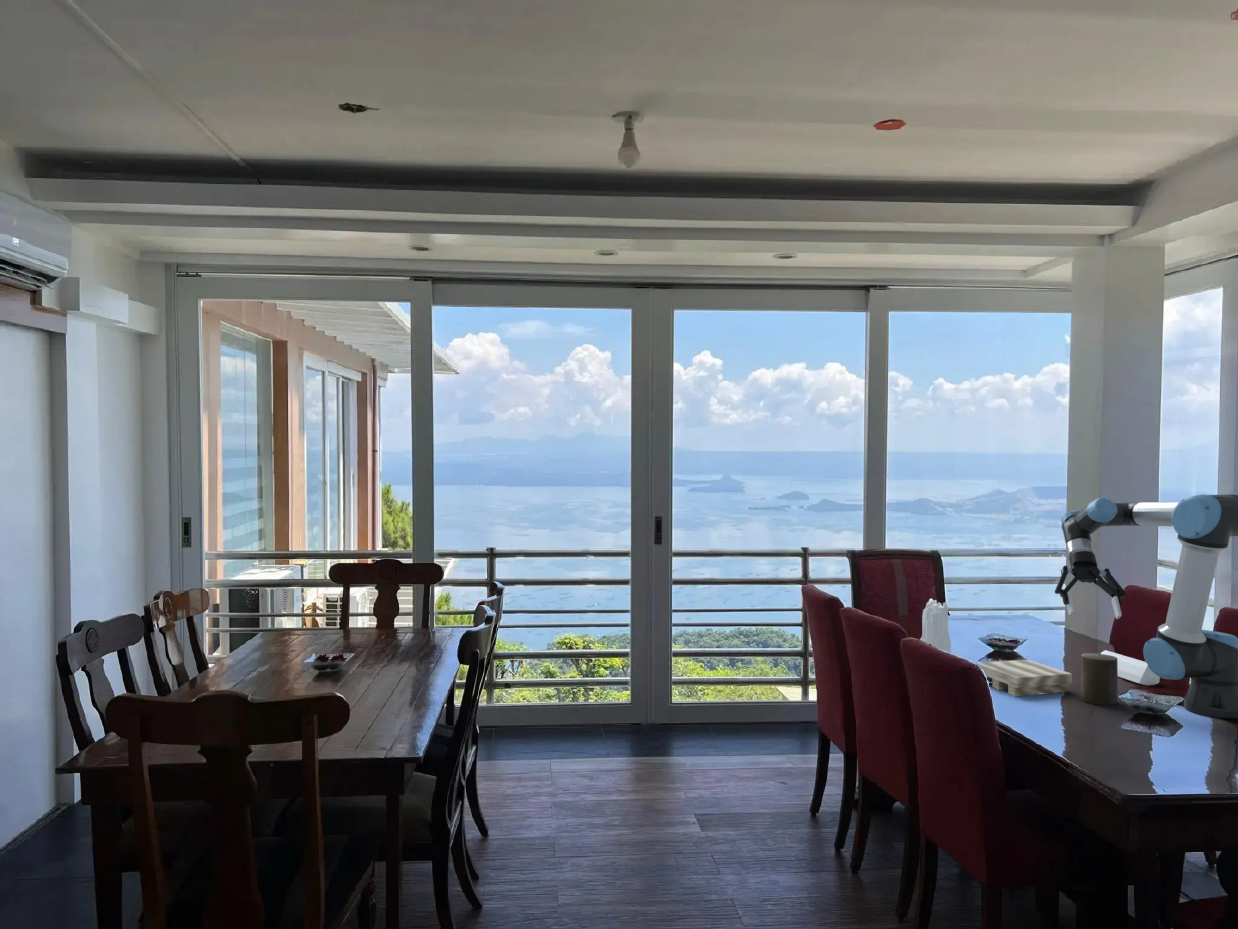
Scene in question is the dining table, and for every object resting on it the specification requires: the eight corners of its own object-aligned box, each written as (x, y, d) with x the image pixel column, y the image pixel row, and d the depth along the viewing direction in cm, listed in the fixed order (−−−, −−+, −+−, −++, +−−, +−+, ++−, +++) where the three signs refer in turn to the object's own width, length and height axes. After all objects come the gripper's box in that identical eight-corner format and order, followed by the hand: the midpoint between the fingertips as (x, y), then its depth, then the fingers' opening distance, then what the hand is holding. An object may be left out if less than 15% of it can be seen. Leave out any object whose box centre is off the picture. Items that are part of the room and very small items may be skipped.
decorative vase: (953, 676, 284) (952, 603, 284) (919, 674, 288) (919, 601, 288) (951, 668, 295) (950, 598, 295) (919, 666, 298) (918, 597, 298)
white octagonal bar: (1086, 658, 292) (1139, 675, 269) (1102, 647, 293) (1156, 663, 270) (1096, 676, 293) (1149, 694, 269) (1111, 665, 294) (1166, 682, 270)
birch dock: (1027, 677, 282) (1027, 659, 282) (1072, 692, 263) (1071, 673, 263) (975, 681, 278) (975, 663, 278) (1017, 697, 258) (1016, 678, 258)
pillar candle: (1103, 707, 247) (1103, 657, 247) (1073, 699, 256) (1073, 650, 256) (1125, 703, 251) (1125, 654, 251) (1095, 695, 260) (1095, 647, 260)
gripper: (1118, 564, 270) (1133, 623, 258) (1037, 558, 274) (1048, 617, 262) (1127, 552, 264) (1143, 613, 252) (1044, 547, 268) (1056, 606, 256)
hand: (1095, 615), depth 257 cm, fingers open, 13 cm apart
